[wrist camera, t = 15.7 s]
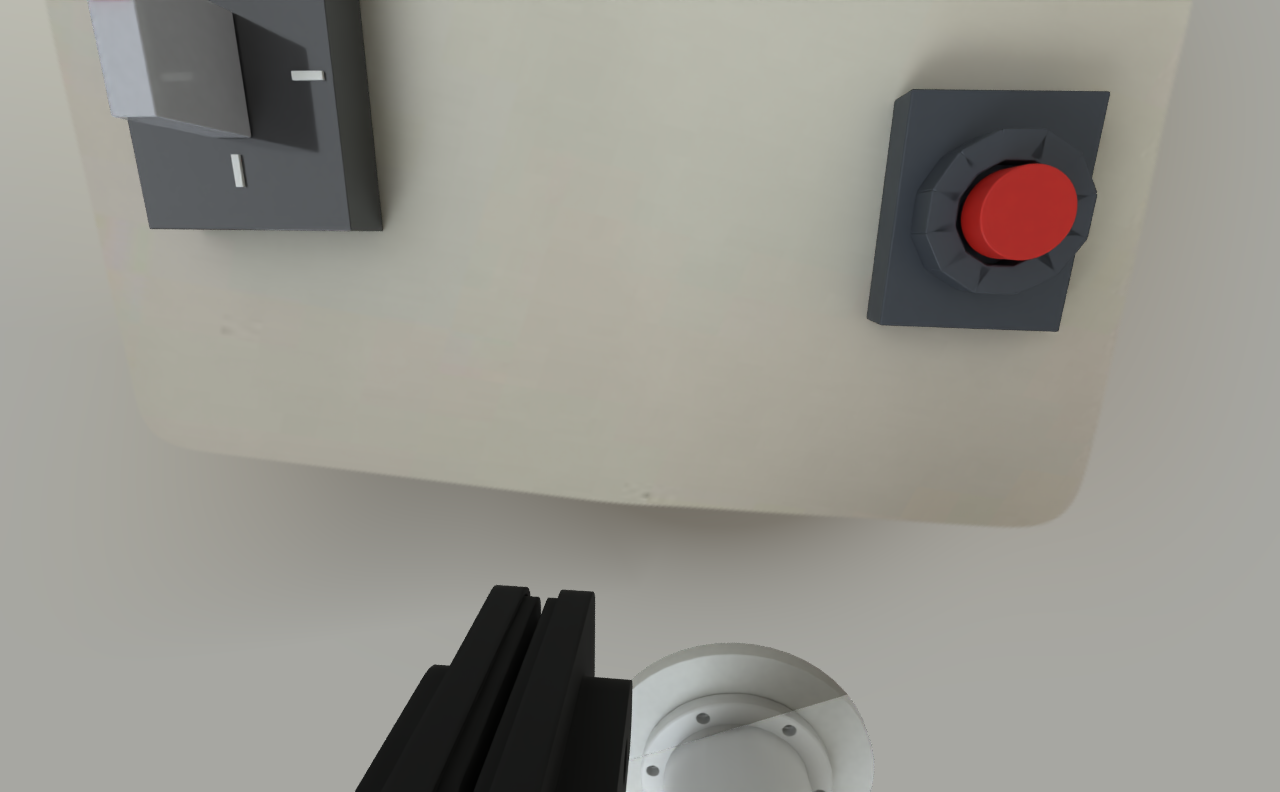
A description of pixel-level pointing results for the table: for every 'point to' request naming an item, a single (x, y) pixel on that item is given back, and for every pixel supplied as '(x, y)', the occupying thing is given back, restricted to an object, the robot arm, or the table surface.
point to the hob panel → (276, 132)
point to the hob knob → (172, 65)
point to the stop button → (1019, 212)
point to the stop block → (936, 192)
